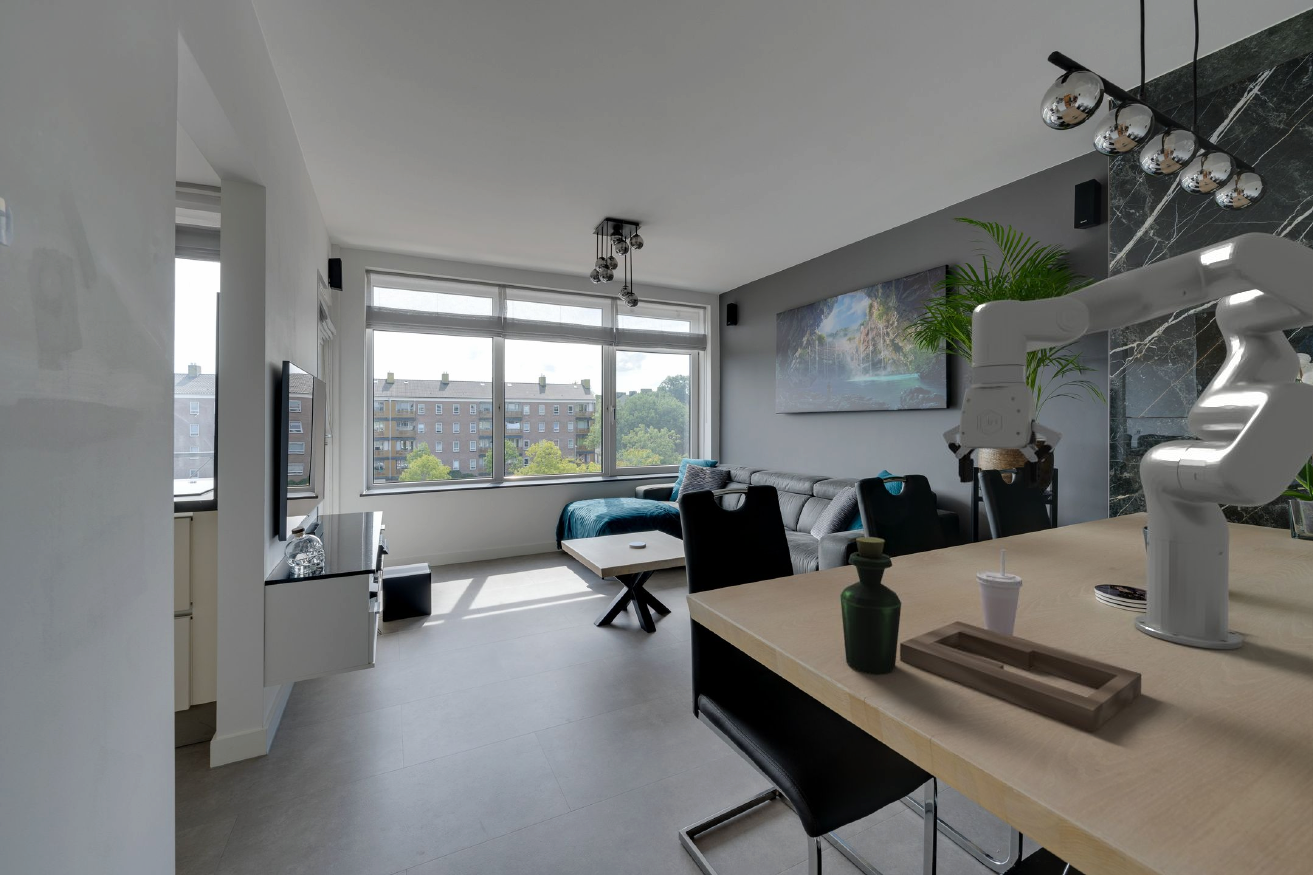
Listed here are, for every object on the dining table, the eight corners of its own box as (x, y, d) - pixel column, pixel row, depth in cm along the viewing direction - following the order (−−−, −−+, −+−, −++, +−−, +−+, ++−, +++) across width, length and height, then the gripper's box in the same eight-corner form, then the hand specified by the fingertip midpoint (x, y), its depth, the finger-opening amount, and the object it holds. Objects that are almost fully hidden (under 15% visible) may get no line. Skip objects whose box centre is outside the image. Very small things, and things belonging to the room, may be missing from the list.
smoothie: (1029, 644, 85) (1030, 555, 85) (984, 641, 86) (985, 553, 86) (1011, 629, 91) (1012, 546, 91) (970, 626, 93) (970, 544, 92)
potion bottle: (902, 659, 80) (902, 536, 80) (900, 682, 72) (900, 547, 72) (843, 649, 83) (843, 532, 83) (836, 670, 76) (836, 542, 76)
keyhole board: (957, 636, 88) (957, 621, 88) (1141, 693, 69) (1141, 673, 69) (900, 659, 79) (900, 642, 79) (1092, 732, 60) (1092, 710, 60)
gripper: (933, 382, 93) (932, 481, 93) (1050, 373, 79) (1049, 491, 79) (956, 384, 97) (955, 479, 98) (1071, 376, 83) (1070, 488, 83)
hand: (997, 484), depth 88 cm, fingers open, 9 cm apart
